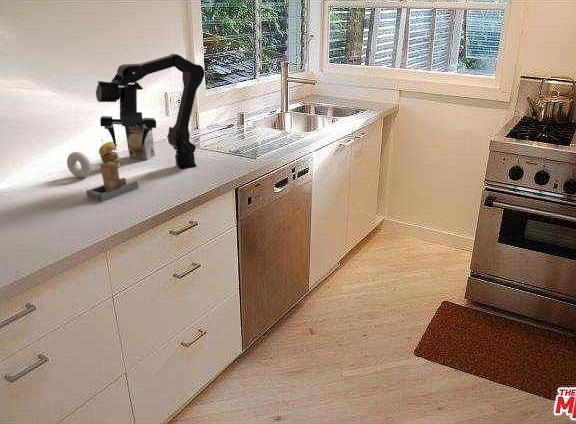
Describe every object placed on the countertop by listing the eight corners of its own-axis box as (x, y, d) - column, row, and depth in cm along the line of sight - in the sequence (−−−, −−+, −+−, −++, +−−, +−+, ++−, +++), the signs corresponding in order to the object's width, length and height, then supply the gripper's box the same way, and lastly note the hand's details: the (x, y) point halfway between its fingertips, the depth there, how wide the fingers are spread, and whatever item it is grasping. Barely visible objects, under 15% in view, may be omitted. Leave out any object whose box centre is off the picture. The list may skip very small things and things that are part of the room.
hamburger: (118, 170, 194) (113, 140, 189) (99, 171, 193) (94, 141, 188) (123, 164, 201) (118, 135, 196) (105, 165, 200) (99, 136, 195)
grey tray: (124, 184, 179) (123, 177, 178) (138, 188, 175) (137, 181, 174) (87, 197, 168) (86, 190, 167) (102, 202, 164) (100, 195, 163)
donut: (95, 177, 188) (90, 151, 184) (88, 180, 185) (83, 154, 181) (74, 174, 191) (69, 149, 187) (67, 177, 188) (62, 152, 184)
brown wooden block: (115, 188, 174) (110, 161, 170) (121, 190, 172) (116, 162, 168) (105, 192, 171) (100, 164, 167) (111, 194, 169) (106, 166, 165)
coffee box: (128, 158, 208) (122, 120, 202) (137, 154, 214) (131, 117, 207) (147, 160, 205) (141, 121, 199) (156, 155, 211) (150, 118, 204)
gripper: (99, 103, 165) (100, 150, 169) (157, 106, 171) (157, 151, 176) (100, 99, 175) (101, 143, 179) (155, 102, 181) (154, 145, 186)
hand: (128, 146), depth 180 cm, fingers open, 9 cm apart
